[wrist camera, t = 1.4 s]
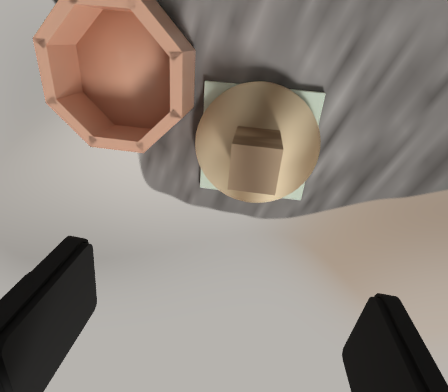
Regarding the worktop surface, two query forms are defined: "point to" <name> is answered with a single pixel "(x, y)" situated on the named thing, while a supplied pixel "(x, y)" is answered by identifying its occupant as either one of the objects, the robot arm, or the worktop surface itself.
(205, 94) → the mat
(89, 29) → the bowl
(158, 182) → the worktop surface
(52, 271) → the robot arm
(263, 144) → the lid
